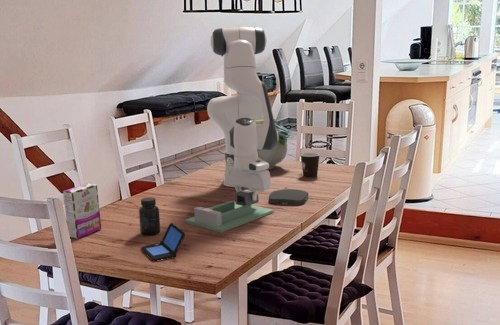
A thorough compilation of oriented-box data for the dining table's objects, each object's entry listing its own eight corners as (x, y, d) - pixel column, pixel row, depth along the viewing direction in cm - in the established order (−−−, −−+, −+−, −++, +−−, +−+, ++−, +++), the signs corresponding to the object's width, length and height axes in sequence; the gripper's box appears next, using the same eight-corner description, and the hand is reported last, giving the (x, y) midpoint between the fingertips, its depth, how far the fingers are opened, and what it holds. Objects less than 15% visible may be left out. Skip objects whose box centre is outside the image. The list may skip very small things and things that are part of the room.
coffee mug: (320, 177, 271) (320, 156, 269) (301, 178, 271) (301, 156, 269) (317, 171, 283) (317, 151, 280) (299, 172, 283) (299, 151, 281)
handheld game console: (140, 250, 188) (138, 227, 186) (172, 243, 193) (171, 221, 191) (153, 263, 177) (151, 239, 176) (187, 256, 182) (186, 233, 180)
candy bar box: (91, 227, 210) (87, 182, 207) (101, 229, 208) (98, 184, 204) (66, 237, 201) (62, 190, 198) (77, 239, 198) (72, 192, 195)
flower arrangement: (264, 160, 310) (263, 113, 305) (301, 167, 293) (301, 117, 287) (229, 168, 293) (228, 119, 288) (266, 176, 276) (265, 124, 271)
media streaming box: (275, 194, 247) (275, 187, 246) (310, 196, 243) (310, 189, 242) (266, 204, 233) (266, 197, 233) (303, 206, 229) (303, 199, 229)
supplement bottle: (142, 230, 206) (140, 196, 204) (162, 229, 206) (160, 196, 203) (138, 236, 200) (135, 202, 197) (158, 236, 199) (156, 201, 197)
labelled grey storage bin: (248, 200, 228) (248, 188, 227) (258, 202, 224) (258, 190, 223) (236, 204, 222) (235, 192, 222) (246, 206, 219) (245, 194, 218)
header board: (237, 204, 234) (237, 190, 232) (273, 212, 222) (273, 197, 221) (185, 222, 213) (184, 207, 212) (221, 232, 202) (220, 216, 200)
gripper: (220, 160, 225) (221, 196, 228) (261, 167, 211) (262, 205, 214) (231, 158, 229) (232, 192, 232) (272, 164, 216) (273, 201, 219)
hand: (247, 198), depth 223 cm, fingers closed on labelled grey storage bin, 5 cm apart
